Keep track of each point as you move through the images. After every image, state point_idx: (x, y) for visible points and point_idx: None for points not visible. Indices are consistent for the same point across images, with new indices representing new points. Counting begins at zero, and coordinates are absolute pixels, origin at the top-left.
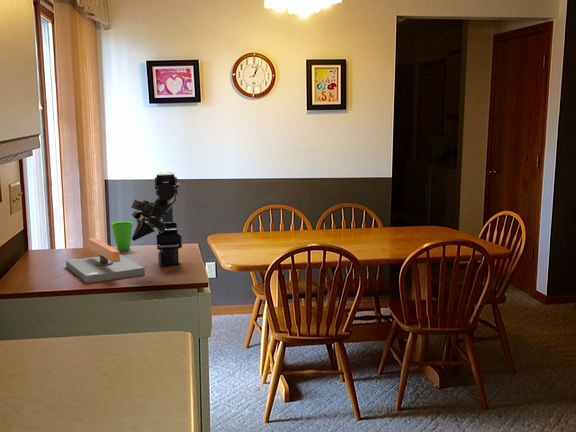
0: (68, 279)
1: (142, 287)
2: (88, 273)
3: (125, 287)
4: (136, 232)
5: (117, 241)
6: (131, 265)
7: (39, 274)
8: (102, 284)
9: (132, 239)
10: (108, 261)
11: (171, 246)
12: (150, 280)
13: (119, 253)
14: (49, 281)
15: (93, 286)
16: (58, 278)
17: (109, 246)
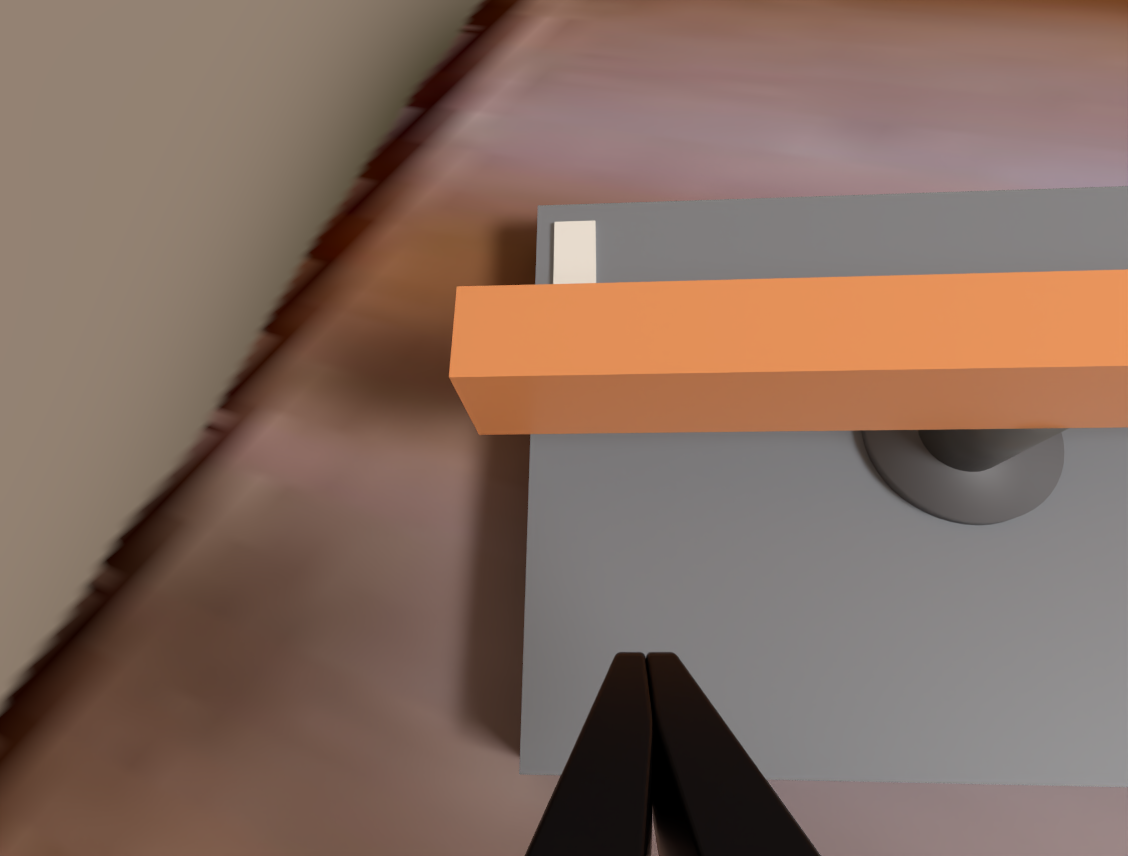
0: (739, 169)
1: (109, 551)
2: (621, 233)
3: (219, 436)
4: (588, 809)
5: None
6: (733, 675)
7: (1006, 51)
8: (432, 322)
9: (617, 656)
10: (1031, 492)
11: None
12: (263, 711)
13: (456, 388)
14: (749, 74)
15: (421, 260)
16: (809, 125)
17: (910, 353)
